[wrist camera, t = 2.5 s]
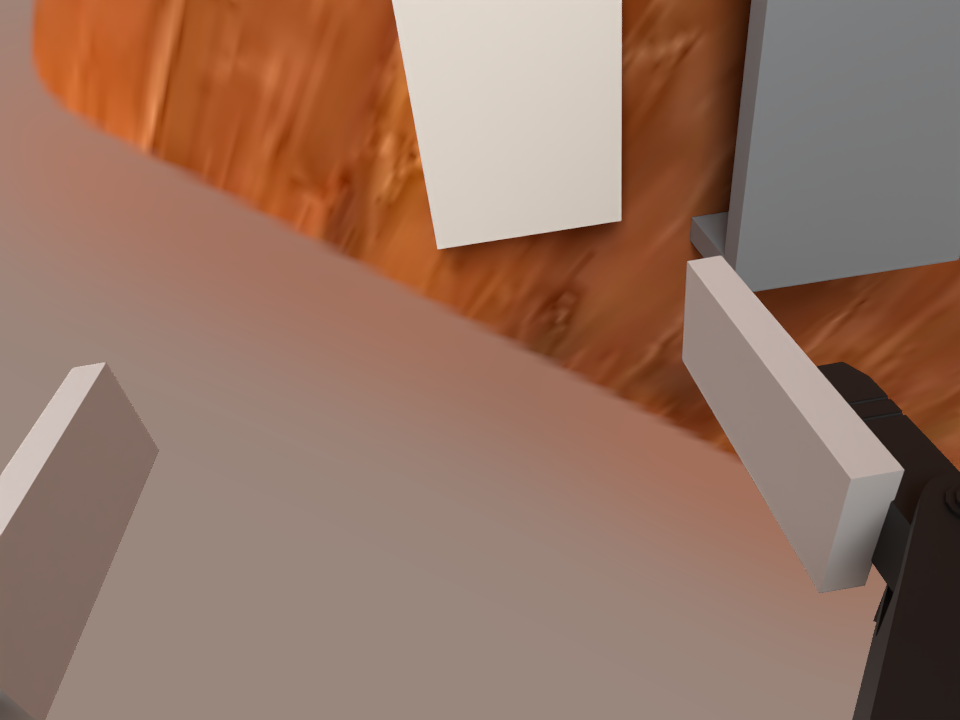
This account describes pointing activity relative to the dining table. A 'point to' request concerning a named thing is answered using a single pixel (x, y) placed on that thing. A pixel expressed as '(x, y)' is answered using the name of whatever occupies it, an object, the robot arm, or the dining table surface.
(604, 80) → the pale grey flat slab
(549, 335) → the dining table surface
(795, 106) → the low overhang
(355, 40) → the dining table surface
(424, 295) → the dining table surface
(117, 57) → the dining table surface
